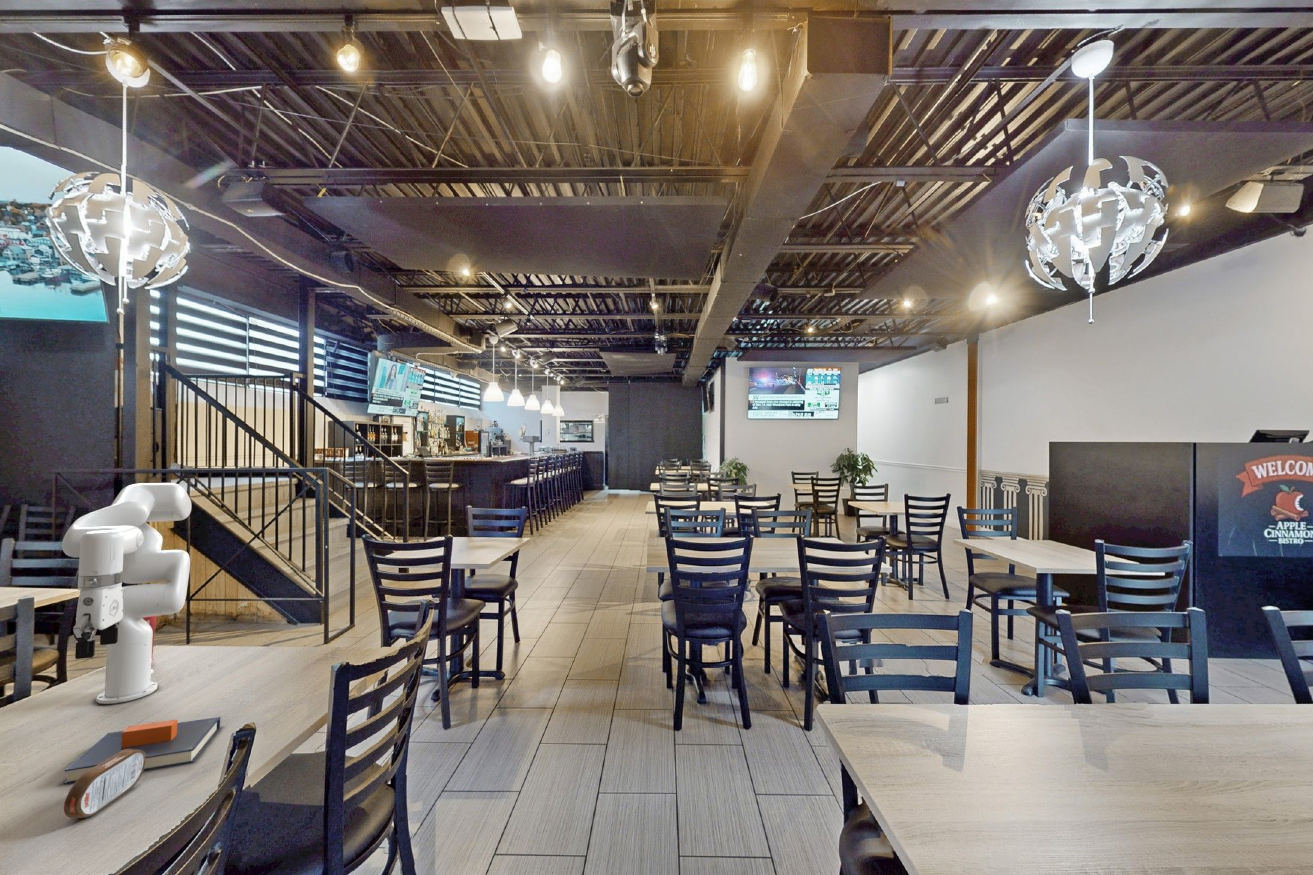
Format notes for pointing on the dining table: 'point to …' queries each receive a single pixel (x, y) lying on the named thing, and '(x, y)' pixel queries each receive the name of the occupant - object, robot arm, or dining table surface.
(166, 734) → the long orange block
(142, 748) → the book
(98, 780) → the tin
